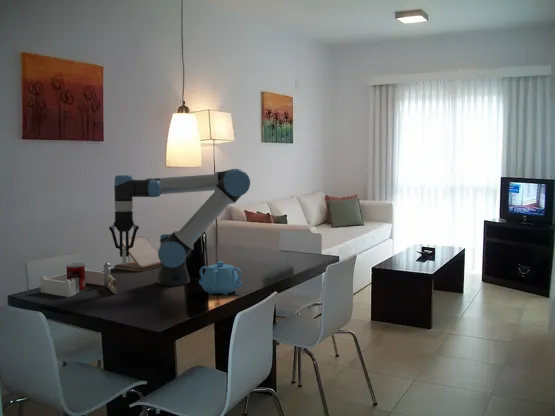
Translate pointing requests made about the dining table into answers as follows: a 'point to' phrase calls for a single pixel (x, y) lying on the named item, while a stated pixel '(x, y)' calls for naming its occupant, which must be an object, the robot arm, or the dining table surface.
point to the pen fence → (68, 283)
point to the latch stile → (76, 283)
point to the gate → (111, 283)
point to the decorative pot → (220, 278)
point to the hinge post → (106, 272)
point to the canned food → (77, 273)
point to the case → (141, 256)
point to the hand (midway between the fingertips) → (124, 263)
